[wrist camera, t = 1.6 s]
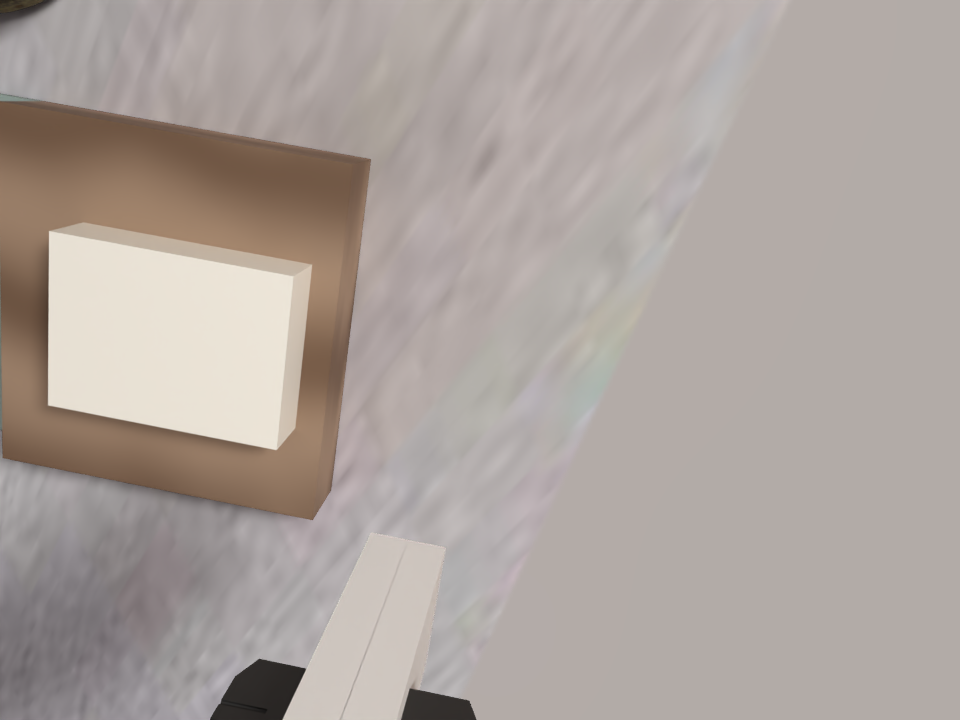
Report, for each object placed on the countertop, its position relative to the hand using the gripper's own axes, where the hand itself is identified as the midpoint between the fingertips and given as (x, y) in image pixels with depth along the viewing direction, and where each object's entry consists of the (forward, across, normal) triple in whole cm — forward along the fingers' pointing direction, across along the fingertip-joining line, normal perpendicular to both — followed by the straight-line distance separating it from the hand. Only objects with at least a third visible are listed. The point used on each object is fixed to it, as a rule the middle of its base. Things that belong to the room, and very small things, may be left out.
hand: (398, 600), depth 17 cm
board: (+15, -11, 0) cm, 19 cm away
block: (+13, -10, 0) cm, 16 cm away
